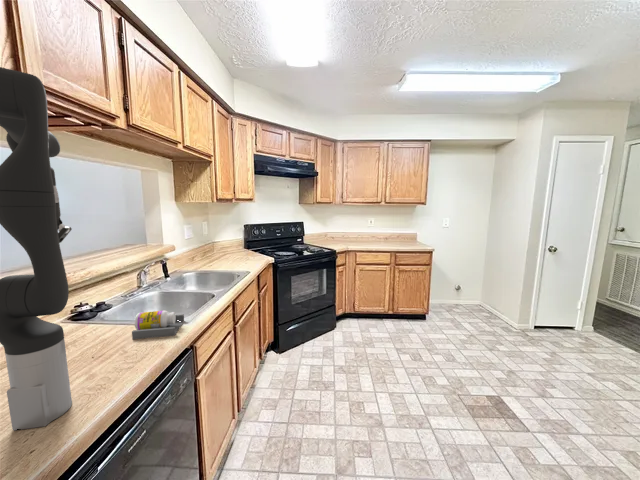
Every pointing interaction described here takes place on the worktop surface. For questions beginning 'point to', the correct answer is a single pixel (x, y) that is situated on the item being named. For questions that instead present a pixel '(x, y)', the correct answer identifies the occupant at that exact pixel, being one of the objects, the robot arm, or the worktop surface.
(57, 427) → the worktop surface
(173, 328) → the cradle tray
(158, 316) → the supplement bottle
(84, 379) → the worktop surface
